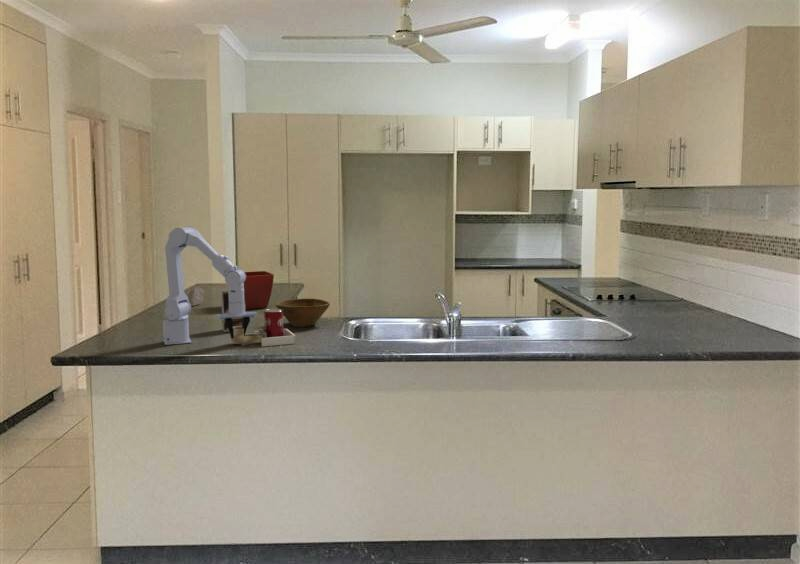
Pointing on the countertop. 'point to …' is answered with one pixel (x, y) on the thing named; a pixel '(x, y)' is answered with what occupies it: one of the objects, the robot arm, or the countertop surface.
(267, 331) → the soda can
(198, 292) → the pumice stone
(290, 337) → the white tray
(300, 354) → the countertop surface
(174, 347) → the countertop surface
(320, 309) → the bowl
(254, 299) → the plant pot
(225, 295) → the coffee box
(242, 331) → the tan boxy piece
